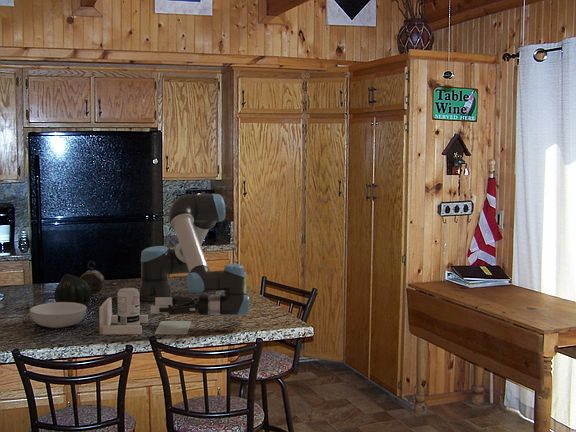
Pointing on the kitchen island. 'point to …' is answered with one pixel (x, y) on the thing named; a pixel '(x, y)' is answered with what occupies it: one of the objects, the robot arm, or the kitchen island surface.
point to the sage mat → (173, 327)
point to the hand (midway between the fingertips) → (152, 305)
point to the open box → (116, 321)
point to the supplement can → (128, 307)
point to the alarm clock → (94, 280)
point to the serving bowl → (58, 314)
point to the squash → (72, 290)
